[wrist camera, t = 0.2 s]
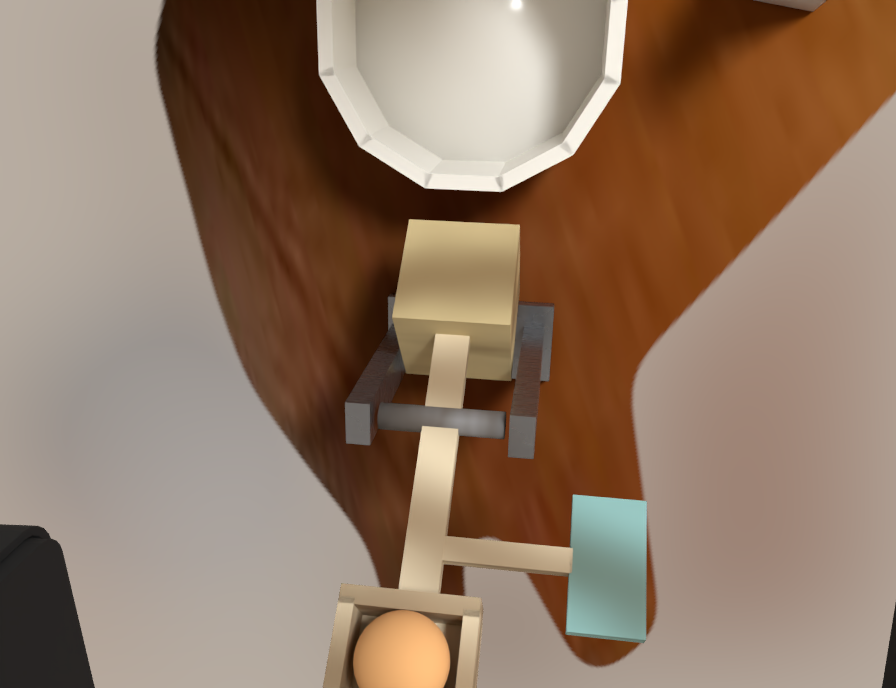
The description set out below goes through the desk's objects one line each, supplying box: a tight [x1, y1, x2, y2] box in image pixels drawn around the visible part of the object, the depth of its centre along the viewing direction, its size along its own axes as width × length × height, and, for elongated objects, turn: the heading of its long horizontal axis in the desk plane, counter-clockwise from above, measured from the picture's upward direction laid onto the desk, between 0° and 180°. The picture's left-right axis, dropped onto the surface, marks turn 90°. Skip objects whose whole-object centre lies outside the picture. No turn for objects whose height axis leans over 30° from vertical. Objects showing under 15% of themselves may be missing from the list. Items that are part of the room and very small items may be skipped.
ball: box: [353, 610, 450, 688], centre depth 30 cm, size 4×4×4 cm
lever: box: [323, 219, 647, 688], centre depth 37 cm, size 23×12×6 cm
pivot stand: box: [345, 293, 554, 459], centre depth 42 cm, size 4×9×12 cm, turn 89°
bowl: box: [316, 0, 628, 192], centre depth 39 cm, size 14×14×5 cm
